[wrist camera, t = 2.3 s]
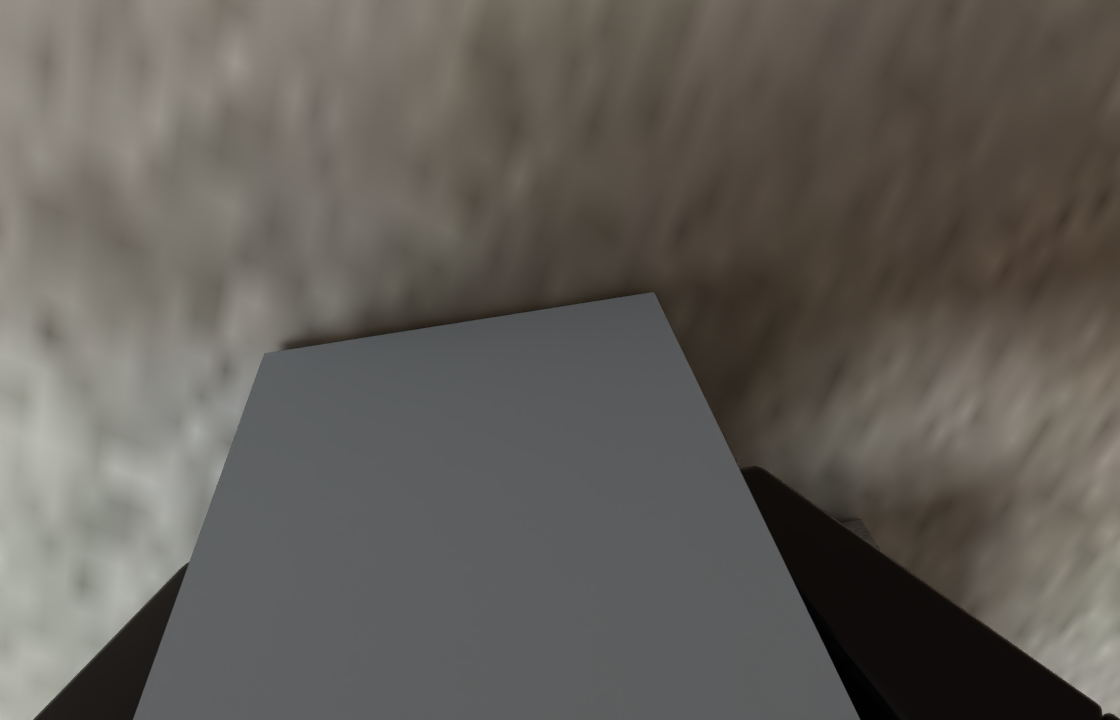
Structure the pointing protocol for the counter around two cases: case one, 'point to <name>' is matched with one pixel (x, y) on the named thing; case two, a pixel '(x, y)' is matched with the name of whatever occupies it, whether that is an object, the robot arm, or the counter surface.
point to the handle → (489, 540)
